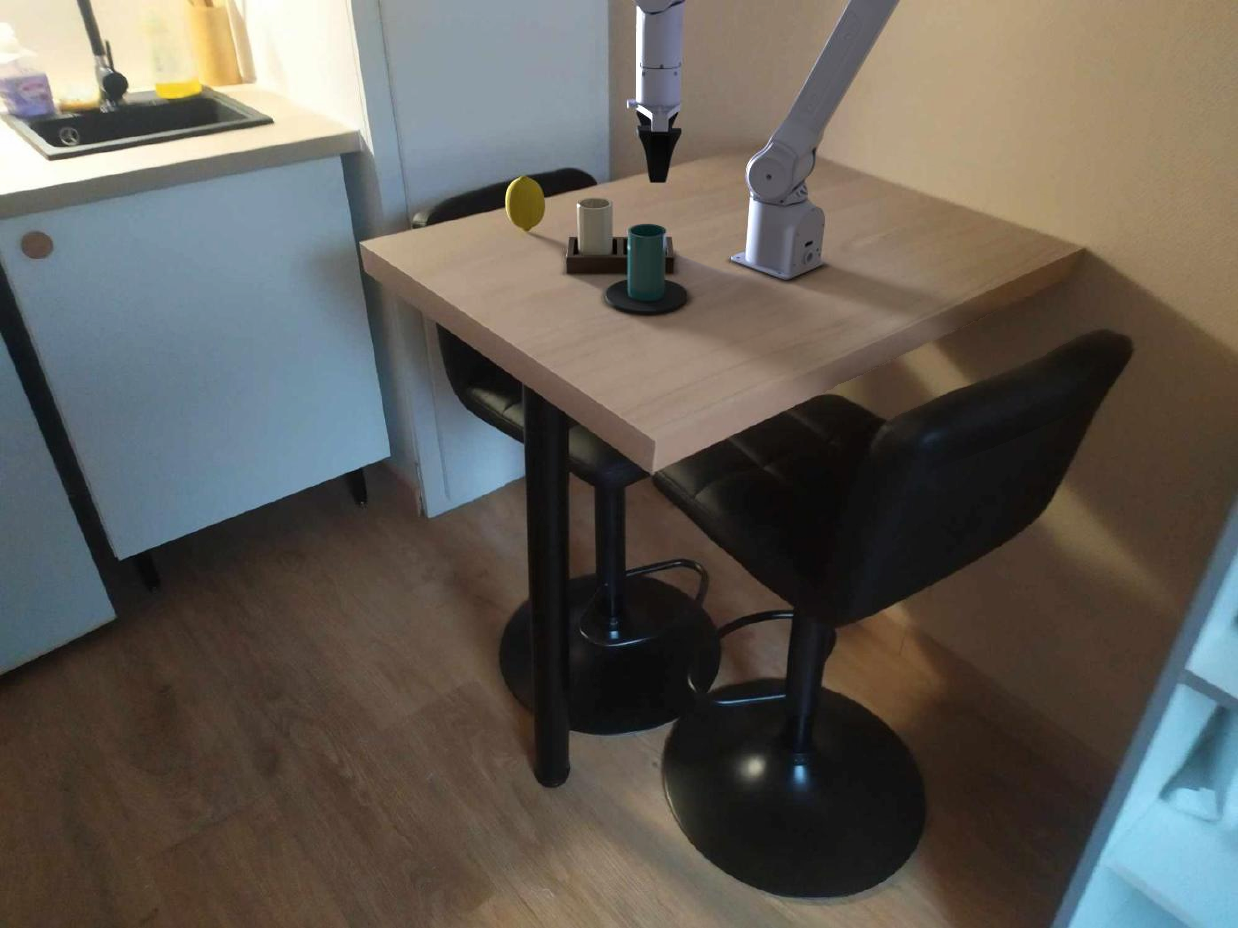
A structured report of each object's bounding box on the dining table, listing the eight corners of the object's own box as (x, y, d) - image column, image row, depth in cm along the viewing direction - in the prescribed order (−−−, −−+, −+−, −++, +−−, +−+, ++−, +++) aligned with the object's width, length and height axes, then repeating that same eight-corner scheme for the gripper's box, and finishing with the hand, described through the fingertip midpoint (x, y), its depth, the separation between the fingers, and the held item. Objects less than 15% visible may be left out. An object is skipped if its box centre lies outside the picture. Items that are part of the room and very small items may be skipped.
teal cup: (672, 294, 113) (674, 231, 108) (645, 304, 110) (646, 240, 106) (646, 283, 116) (647, 221, 111) (620, 293, 113) (619, 230, 108)
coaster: (704, 298, 113) (704, 294, 113) (645, 322, 107) (645, 318, 107) (647, 274, 119) (647, 270, 119) (588, 296, 113) (588, 292, 113)
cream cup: (619, 263, 122) (619, 203, 118) (594, 272, 120) (593, 211, 115) (597, 253, 125) (596, 195, 120) (571, 262, 122) (569, 203, 118)
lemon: (540, 240, 129) (537, 183, 125) (502, 237, 130) (498, 180, 126) (550, 226, 134) (548, 170, 129) (513, 223, 135) (510, 168, 130)
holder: (673, 273, 119) (674, 257, 118) (566, 273, 119) (566, 257, 118) (671, 252, 125) (671, 236, 124) (569, 252, 125) (569, 236, 124)
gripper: (627, 53, 122) (627, 157, 129) (627, 77, 110) (627, 190, 118) (680, 52, 122) (677, 157, 129) (686, 77, 110) (682, 190, 117)
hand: (656, 173), depth 124 cm, fingers open, 7 cm apart
